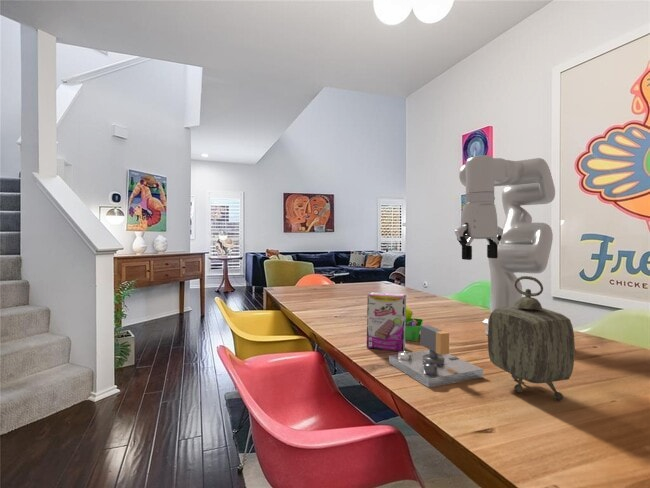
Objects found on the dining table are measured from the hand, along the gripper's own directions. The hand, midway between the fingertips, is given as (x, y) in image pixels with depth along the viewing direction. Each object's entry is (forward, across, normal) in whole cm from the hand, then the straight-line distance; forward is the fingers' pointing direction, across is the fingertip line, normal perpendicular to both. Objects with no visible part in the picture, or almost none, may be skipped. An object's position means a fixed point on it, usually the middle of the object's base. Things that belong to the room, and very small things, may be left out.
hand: (479, 258), depth 97 cm
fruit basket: (+28, +10, -21) cm, 36 cm away
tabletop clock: (+27, +11, +23) cm, 37 cm away
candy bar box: (+27, +24, -13) cm, 38 cm away
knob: (+24, +22, +6) cm, 33 cm away
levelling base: (+27, +22, +6) cm, 35 cm away
